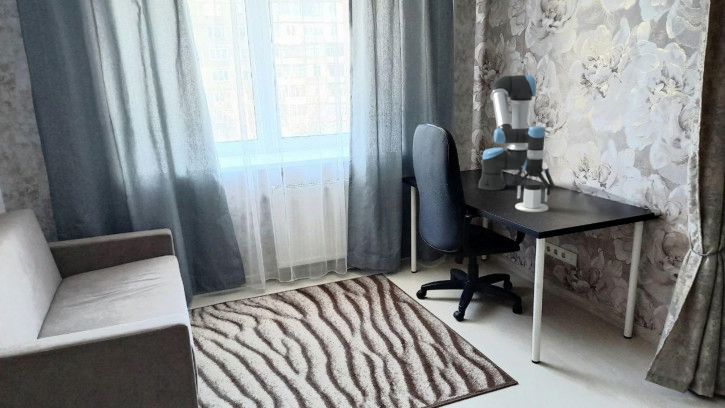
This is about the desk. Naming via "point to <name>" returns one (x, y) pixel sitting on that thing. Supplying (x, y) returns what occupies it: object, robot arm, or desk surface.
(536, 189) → the jar
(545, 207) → the plate
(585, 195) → the desk surface
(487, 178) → the robot arm
